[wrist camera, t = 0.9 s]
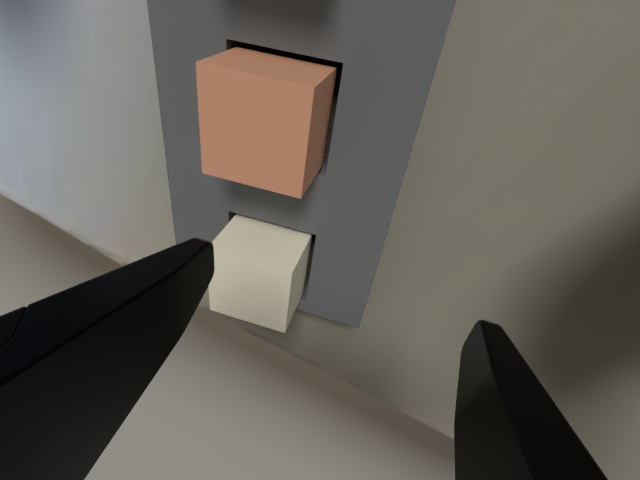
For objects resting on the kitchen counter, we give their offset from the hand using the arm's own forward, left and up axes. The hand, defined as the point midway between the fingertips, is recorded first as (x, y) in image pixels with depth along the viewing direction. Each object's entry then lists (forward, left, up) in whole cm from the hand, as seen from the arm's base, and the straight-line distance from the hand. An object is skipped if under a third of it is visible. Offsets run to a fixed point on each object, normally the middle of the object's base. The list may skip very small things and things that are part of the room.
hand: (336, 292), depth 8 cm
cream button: (+5, +9, -10) cm, 14 cm away
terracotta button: (+5, 0, -10) cm, 11 cm away
